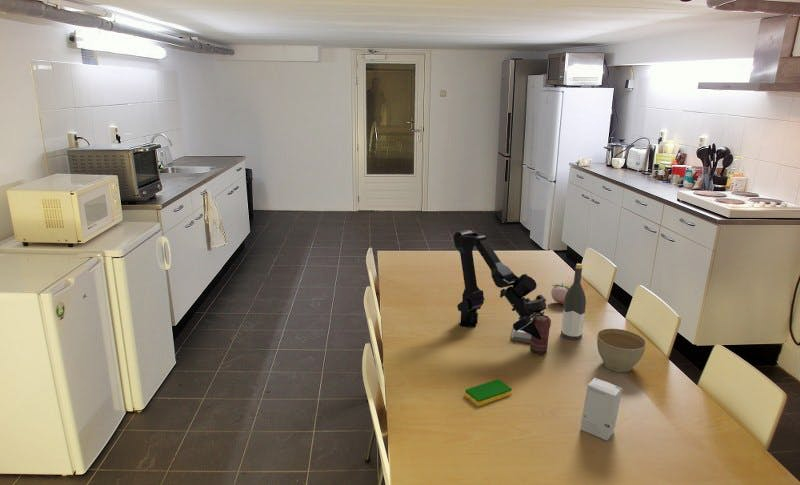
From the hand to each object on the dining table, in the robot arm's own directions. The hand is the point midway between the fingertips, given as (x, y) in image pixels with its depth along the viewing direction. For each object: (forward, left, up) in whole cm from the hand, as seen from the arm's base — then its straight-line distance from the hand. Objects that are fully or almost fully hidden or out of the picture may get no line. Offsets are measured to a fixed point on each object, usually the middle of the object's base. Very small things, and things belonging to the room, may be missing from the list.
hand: (543, 336), depth 197 cm
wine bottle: (+10, +19, -7) cm, 23 cm away
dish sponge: (-15, -34, -8) cm, 38 cm away
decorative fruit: (+5, +51, -7) cm, 52 cm away
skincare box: (+18, -43, -7) cm, 47 cm away
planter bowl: (+26, -1, -7) cm, 27 cm away
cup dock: (-6, +14, -7) cm, 17 cm away
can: (-1, +1, -7) cm, 7 cm away
